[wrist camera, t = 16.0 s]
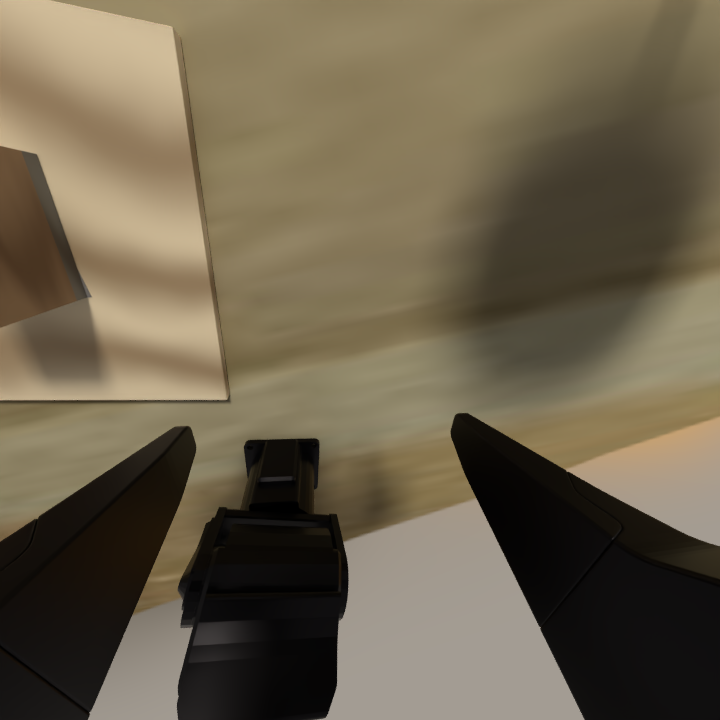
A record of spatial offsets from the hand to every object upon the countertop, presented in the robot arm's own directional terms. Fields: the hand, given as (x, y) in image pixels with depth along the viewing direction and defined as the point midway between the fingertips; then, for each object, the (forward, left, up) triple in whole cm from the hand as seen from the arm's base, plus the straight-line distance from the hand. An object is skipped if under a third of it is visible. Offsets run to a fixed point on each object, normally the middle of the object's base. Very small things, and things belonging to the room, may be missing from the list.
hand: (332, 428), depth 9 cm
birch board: (+3, +16, -12) cm, 20 cm away
